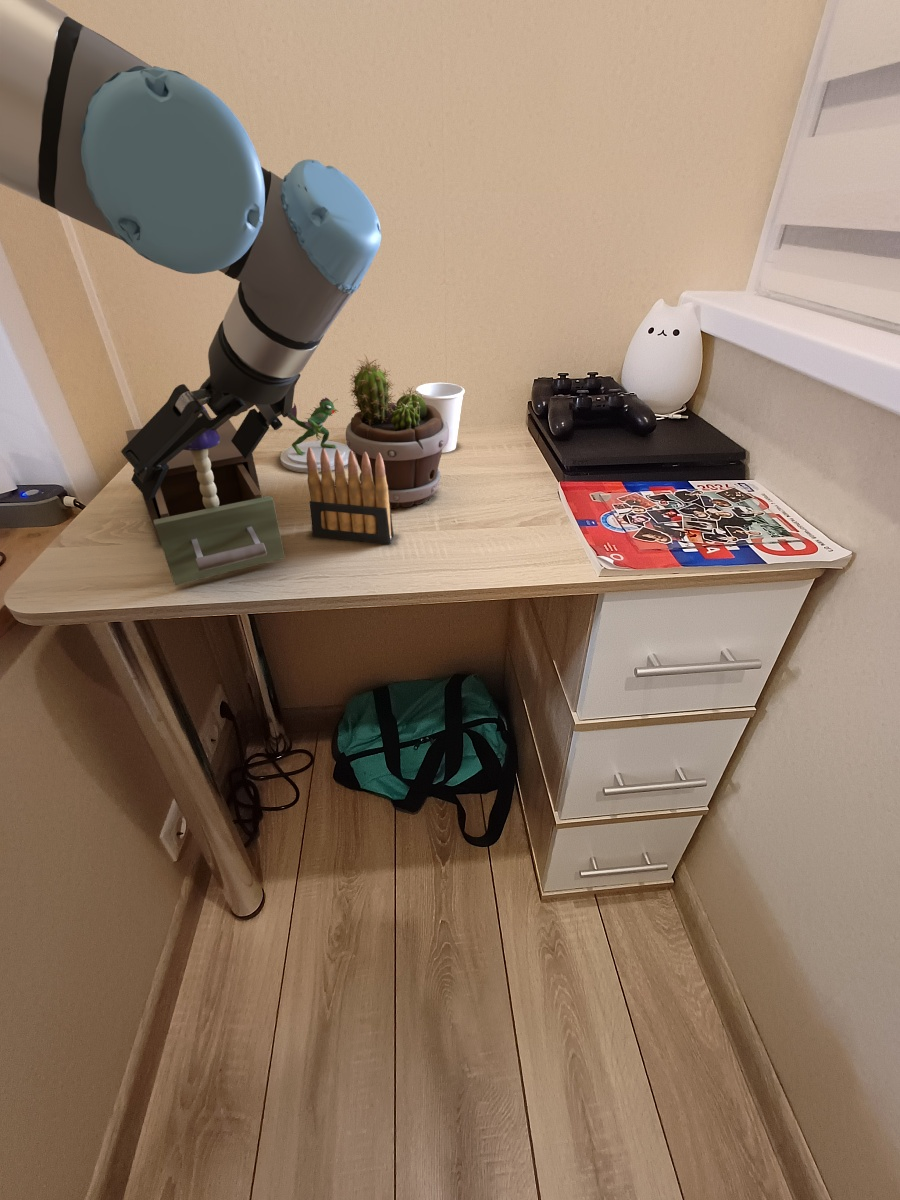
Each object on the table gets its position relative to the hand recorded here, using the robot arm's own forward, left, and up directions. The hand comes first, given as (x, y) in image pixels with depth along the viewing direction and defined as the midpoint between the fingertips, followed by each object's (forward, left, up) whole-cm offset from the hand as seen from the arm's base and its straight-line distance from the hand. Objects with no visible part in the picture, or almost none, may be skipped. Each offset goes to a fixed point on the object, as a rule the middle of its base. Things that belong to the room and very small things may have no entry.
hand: (194, 467), depth 66 cm
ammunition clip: (+17, -5, -11) cm, 21 cm away
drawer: (+1, -3, -10) cm, 11 cm away
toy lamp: (+1, -2, -9) cm, 10 cm away
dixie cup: (+42, +18, -11) cm, 47 cm away
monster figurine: (+21, +23, -11) cm, 33 cm away
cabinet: (+1, +13, -11) cm, 17 cm away
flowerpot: (+28, +4, -11) cm, 30 cm away
